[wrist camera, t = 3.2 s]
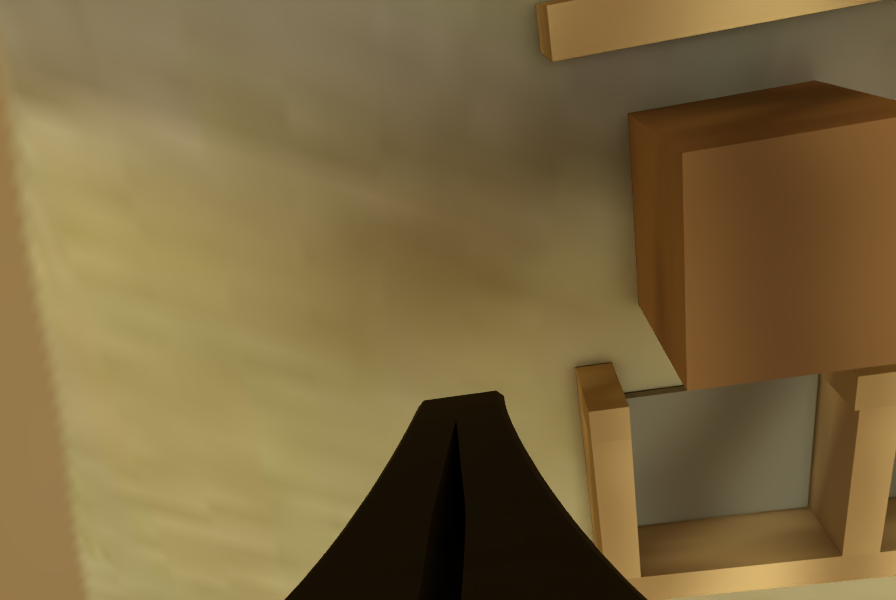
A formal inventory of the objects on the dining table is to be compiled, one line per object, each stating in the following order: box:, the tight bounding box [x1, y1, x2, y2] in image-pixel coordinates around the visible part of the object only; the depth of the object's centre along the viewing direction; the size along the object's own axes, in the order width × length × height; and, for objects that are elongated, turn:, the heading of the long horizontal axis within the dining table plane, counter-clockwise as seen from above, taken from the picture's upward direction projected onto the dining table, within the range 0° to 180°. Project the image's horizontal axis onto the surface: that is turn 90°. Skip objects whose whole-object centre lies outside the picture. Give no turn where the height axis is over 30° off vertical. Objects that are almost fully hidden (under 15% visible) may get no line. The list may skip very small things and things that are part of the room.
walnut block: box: [628, 81, 896, 391], centre depth 17 cm, size 5×6×5 cm
